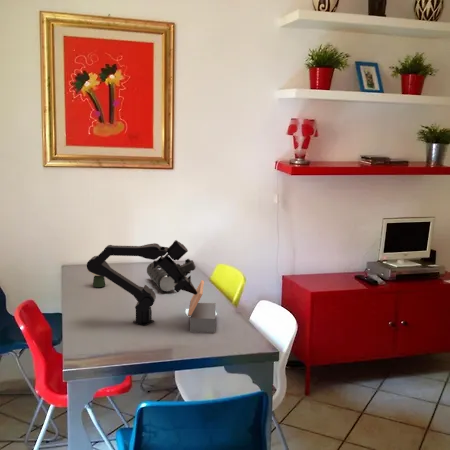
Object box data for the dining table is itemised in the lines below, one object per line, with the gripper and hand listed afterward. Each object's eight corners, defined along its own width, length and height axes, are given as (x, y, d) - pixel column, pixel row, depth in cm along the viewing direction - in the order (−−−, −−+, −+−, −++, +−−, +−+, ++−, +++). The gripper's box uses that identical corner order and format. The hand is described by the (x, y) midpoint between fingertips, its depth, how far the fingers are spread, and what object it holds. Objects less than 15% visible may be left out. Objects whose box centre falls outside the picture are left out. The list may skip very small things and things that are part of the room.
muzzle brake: (163, 279, 292) (163, 260, 290) (177, 293, 266) (177, 273, 264) (146, 280, 288) (146, 261, 287) (158, 295, 263) (158, 275, 261)
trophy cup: (109, 284, 278) (109, 260, 276) (109, 288, 271) (109, 263, 269) (88, 285, 276) (88, 260, 274) (88, 289, 269) (87, 264, 267)
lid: (189, 317, 213) (187, 316, 213) (192, 302, 233) (190, 301, 233) (202, 294, 212) (199, 293, 211) (204, 280, 231) (201, 279, 231)
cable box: (190, 332, 214) (190, 318, 213) (193, 308, 243) (194, 296, 242) (214, 332, 214) (215, 318, 213) (215, 309, 243) (215, 296, 242)
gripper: (182, 259, 210) (209, 287, 212) (185, 249, 228) (210, 275, 230) (162, 278, 211) (190, 305, 213) (167, 267, 229) (192, 292, 231)
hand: (196, 293), depth 222 cm, fingers closed, pressing on lid
